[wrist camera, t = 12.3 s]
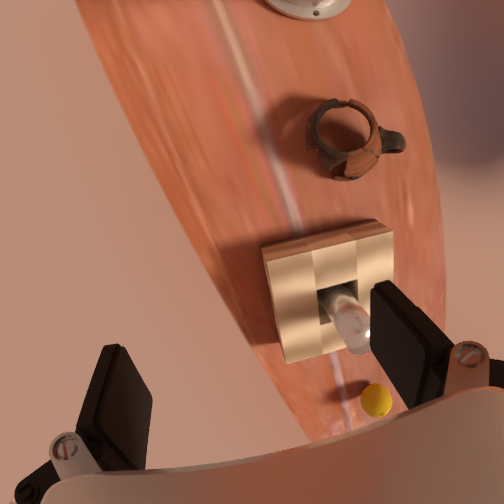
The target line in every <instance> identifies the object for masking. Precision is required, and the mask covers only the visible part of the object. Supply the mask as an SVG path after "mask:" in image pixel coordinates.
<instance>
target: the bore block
mask: <svg viewBox="0 0 504 504" xmlns="http://www.w3.org/2000/svg"><path fill="white" fill-rule="evenodd" d="M260 249H261V253H262V258H263V263H264V268H265V273H266V278H267V283H268V288H269V293H270V298H271V303H272V308H273V313H274V318H275V323H276V328H277V333H278V338H279V343H280V346H281V349H282V352H283V355H284V359H285V362H286V364H289V363H293V362H297V361H301V360H304V359H308V358H312V357H315V356H319V355H322V354H326V353H329V352H333V351H336V350H339V349H343V348H346V347H347V346H346V344H345V343H344V341H343V339H342V338H341V336H340V334H339V333H338V331H337V329H336V328H335V326H334V324H333V323H332V321H331V320H330V318H329V316H328V315H327V313H326V311H325V310H324V308H323V306H322V305H321V303H320V302H319V300H318V298H317V292H316V290H319V289H323V288H326V287H330V286H334V285H338V284H341V283H343V284H344V285H345V286H346V287H347V288H348V290H349V291H350V292H351V293H352V295H353V296H354V297H355V298H356V300H357V301H358V302H359V303H360V305H361V306H362V307H363V308H364V310H365V311H366V312H367V313H368V315H369V316H370V290H371V289H372V288H374V284H375V283H378V282H382V281H385V280H390V281H391V282H392V283H393V231H392V230H391V229H389V228H388V227H386V226H385V225H383V224H382V223H380V222H379V221H377V220H376V219H372V220H368V221H363V222H359V223H355V224H350V225H346V226H342V227H337V228H333V229H329V230H324V231H320V232H316V233H311V234H307V235H303V236H298V237H294V238H290V239H285V240H281V241H277V242H273V243H268V244H264V245H260Z"/></svg>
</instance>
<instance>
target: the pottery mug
mask: <svg viewBox="0 0 504 504" xmlns="http://www.w3.org/2000/svg"><path fill="white" fill-rule="evenodd" d="M346 106H349V107H351V108H354V109H356V110H358V111H359V112H361V113H362V114H363V115H364V116H365V117H366V118H367V120H368V122H369V125H370V137H369V139H368V141H367V142H366V143H365V144H364V145H363V146H362V147H360V148H358V149H356V150H353V151H347V152H344V151H338V150H335V149H333V148H331V147H330V146H328V145H327V144H326V143H325V142H324V141H322V139H321V137H320V135H319V132H318V123H319V120H320V118H321V117H322V115H323V114H324V113H325V112H326V111H327V110H329V109H331V108H342V107H346ZM308 122H309V123H308V124H307V125H306V150H307V151H308V150H310V149H318V150H319V152H318V157H319V160H320V161H321V165H322V167H323V168H324V169H326V170H328V171H331V170H332V168H333V167H335V166H337V165H338V164H340V163H342V162H344V161H346V166H345V170H344V175H345V176H347V177H344V176H334V177H333V179H334V180H336V181H350V180H355V179H358V178H359V177H361V176H363V175H364V174H366V173H367V172H369V170H371V169H372V168H373V167H374V165H375V164H376V163H377V161H378V158H379V156H380V154H384V153H400V152H403V151H404V149H405V147H406V142H405V138H404V137H403V135H402V134H401V133H399V132H395V131H388V130H385V129H383V128H382V127H381V126H378V124H377V121H376V119H375V117H374V115H373V114H372V112H371V111H370V110H369V109H368V108H367V107H366V106H365V105H364V104H362V103H361V102H358V101H356V100H353V99H350V101H349V102H347V101H339V100H337V99H335V98H334V99H330V100H328V101H326V102H325V103H323V104H321V105H320V106H319V107H318V108H317V109H316V110H315V111H314V112H313V113H312V114H311V116H310V117H309V119H308Z"/></svg>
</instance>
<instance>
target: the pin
mask: <svg viewBox="0 0 504 504" xmlns="http://www.w3.org/2000/svg"><path fill="white" fill-rule="evenodd" d="M316 292H317V298H318V300H319V302H320V303H321V305H322V306H323V308H324V310H325V311H326V313H327V315H328V316H329V318H330V320H331V321H332V323H333V324H334V326H335V328H336V329H337V331H338V333H339V334H340V336H341V338H342V339H343V341H344V343H345V344H346V346H347V348H348V349H349V351H350V352H351V353H353V354H364V353H366V352H368V351H370V350H371V348H370V316H369V315H368V313H367V312H366V311H365V310H364V308H363V307H362V306H361V305H360V303H359V302H358V301H357V300H356V298H355V297H354V296H353V295H352V293H351V292H350V291H349V290H348V288H347V287H346V286H345V285H344V284H343V283H341V284H338V285H334V286H330V287H326V288H323V289H319V290H316Z"/></svg>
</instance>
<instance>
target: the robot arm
mask: <svg viewBox="0 0 504 504" xmlns="http://www.w3.org/2000/svg"><path fill="white" fill-rule="evenodd" d="M264 1H265V2H266V3H267V4H269V5H270V6H271V7H272V8H274V9H275V10H277V11H278V12H280V13H282V14H284V15H287V16H289V17H292V18H295V19H299V20H306V21H320V20H326V19H329V18H332V17H335V16H336V15H338V14H339V13H341V12H342V11H343V10H345V9H346V8H347V6H348V5H349V4H350V2H351V0H264ZM313 14H315V15H316V16H314V15H313ZM370 348H371V351H372V352H373V354H374V355H375V357H376V359H377V360H378V362H379V363H380V365H381V366H382V368H383V369H384V371H385V373H386V374H387V376H388V377H389V379H390V380H391V382H392V384H393V385H394V387H395V388H396V390H397V392H398V393H399V395H400V396H401V398H402V400H403V401H404V403H405V404H406V406H407V408H408V409H409V410H407V411H404V412H402V413H399V414H397V415H394V416H392V417H389V418H386V419H384V420H381V421H378V422H376V423H373V424H370V425H368V426H365V427H362V428H359V429H356V430H353V431H350V432H347V433H344V434H341V435H338V436H334V437H331V438H328V439H324V440H321V441H317V442H314V443H310V444H307V445H303V446H299V447H295V448H291V449H287V450H283V451H278V452H274V453H269V454H264V455H260V456H255V457H249V458H244V459H238V460H232V461H226V462H219V463H212V464H204V465H196V466H187V467H176V468H164V469H148V470H145V464H146V453H147V444H148V434H149V426H150V418H151V410H152V396H151V393H150V391H149V390H148V388H147V386H146V385H145V383H144V381H143V380H142V378H141V376H140V374H139V372H138V371H137V369H136V367H135V365H134V363H133V362H132V360H131V358H130V356H129V354H128V352H127V350H126V349H125V347H123V346H122V347H121V346H120V345H119V344H111V345H105V346H104V347H103V349H102V351H101V354H100V357H99V360H98V362H97V365H96V368H95V371H94V373H93V376H92V379H91V382H90V385H89V388H88V391H87V393H86V397H85V399H84V403H83V406H82V409H81V412H80V415H79V418H78V422H77V425H76V431H75V433H74V432H65V433H62V434H60V435H58V436H57V437H56V438H55V439H54V440H53V441H52V443H51V445H50V447H49V455H50V459H51V460H49V461H48V462H46V463H45V464H44V465H42V466H41V467H40V468H38V469H37V470H35V471H34V472H33V473H31V474H30V475H29V476H27V477H26V478H25V479H23V480H22V481H21V482H20V483H18V485H17V487H16V489H15V500H16V502H15V503H13V502H10V504H504V361H502V360H495V359H489V353H488V351H487V349H486V348H485V347H484V346H482V345H481V344H479V343H477V342H474V341H463V342H459V343H458V344H456V345H454V344H453V343H452V342H451V340H449V338H448V337H447V336H446V335H445V334H444V333H443V332H442V331H441V330H440V329H439V328H438V327H437V326H436V325H435V323H434V322H433V321H432V320H431V319H430V318H429V317H428V316H427V315H426V314H425V313H424V312H423V311H422V310H421V309H420V308H419V307H417V306H415V305H414V304H413V303H412V302H411V301H410V300H409V299H408V298H407V297H406V296H405V295H404V294H403V293H402V292H401V291H400V290H399V289H398V288H397V287H396V286H395V285H394V284H393V283H392V282H391V281H390V280H385V281H382V282H378V283H375V284H374V288H372V289H371V290H370Z"/></svg>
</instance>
